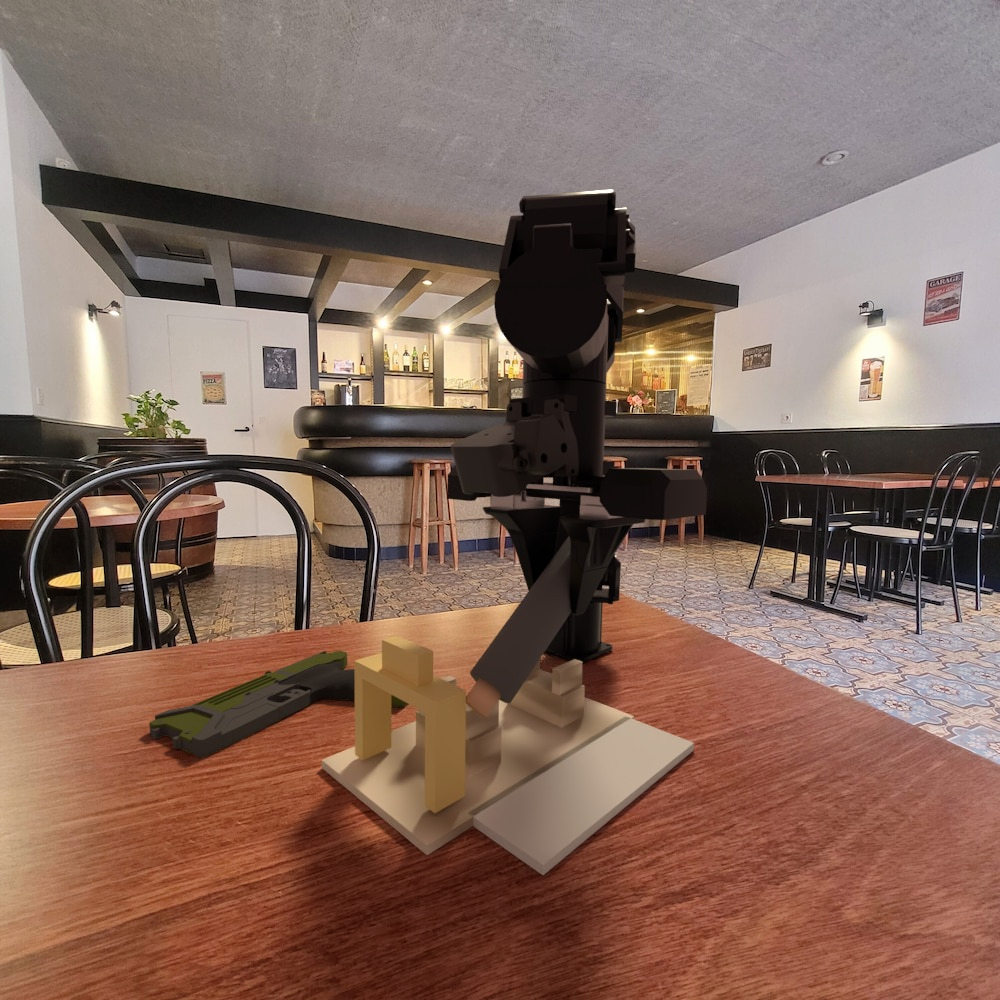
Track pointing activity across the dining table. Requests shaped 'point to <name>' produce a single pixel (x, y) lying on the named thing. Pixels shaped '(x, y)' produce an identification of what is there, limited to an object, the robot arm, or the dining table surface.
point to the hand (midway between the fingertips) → (557, 608)
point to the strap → (413, 682)
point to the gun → (257, 704)
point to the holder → (477, 755)
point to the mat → (580, 792)
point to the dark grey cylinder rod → (523, 637)
